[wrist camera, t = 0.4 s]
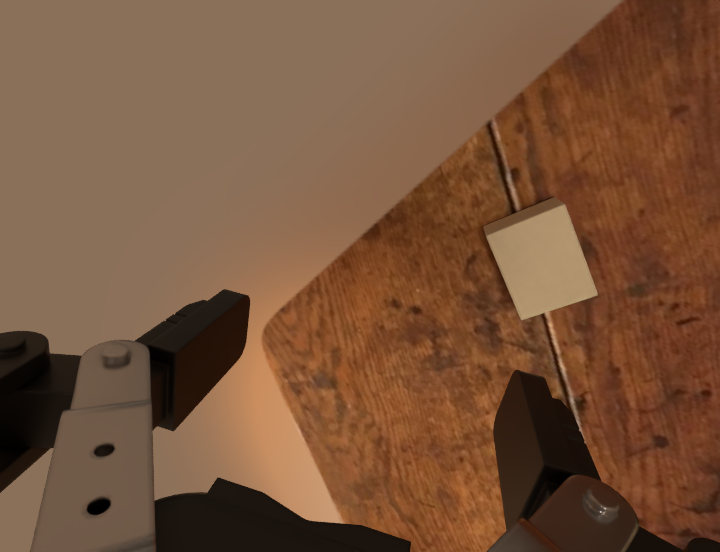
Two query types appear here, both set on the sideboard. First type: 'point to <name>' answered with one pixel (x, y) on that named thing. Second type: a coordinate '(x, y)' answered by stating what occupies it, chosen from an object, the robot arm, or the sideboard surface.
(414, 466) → the sideboard surface
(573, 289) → the cream pad
